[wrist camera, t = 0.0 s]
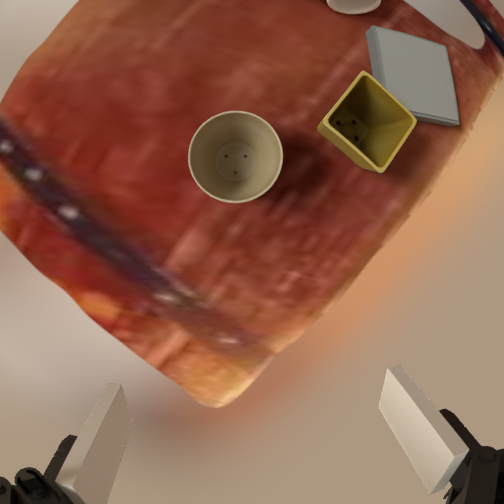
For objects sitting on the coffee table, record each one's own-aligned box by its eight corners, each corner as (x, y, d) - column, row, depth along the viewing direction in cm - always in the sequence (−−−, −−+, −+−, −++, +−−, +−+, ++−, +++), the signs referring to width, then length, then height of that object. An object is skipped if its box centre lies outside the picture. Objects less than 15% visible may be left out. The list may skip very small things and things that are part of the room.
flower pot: (352, 176, 39) (382, 175, 30) (302, 135, 37) (321, 121, 28) (385, 130, 37) (418, 120, 29) (338, 90, 36) (363, 68, 27)
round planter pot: (290, 166, 38) (302, 162, 31) (230, 215, 39) (229, 222, 32) (240, 109, 36) (242, 93, 29) (181, 157, 37) (169, 152, 30)
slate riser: (365, 32, 34) (373, 24, 31) (437, 51, 34) (446, 45, 32) (377, 114, 37) (386, 110, 34) (449, 126, 37) (460, 124, 35)
